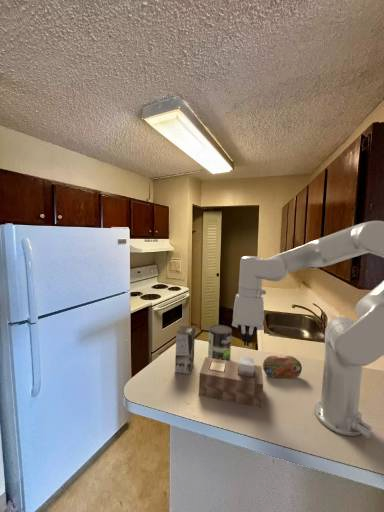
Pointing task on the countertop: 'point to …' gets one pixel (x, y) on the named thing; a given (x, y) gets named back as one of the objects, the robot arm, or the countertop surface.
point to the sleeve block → (231, 383)
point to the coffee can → (219, 342)
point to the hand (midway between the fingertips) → (246, 344)
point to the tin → (282, 367)
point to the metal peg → (246, 367)
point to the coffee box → (184, 349)
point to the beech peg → (217, 367)
